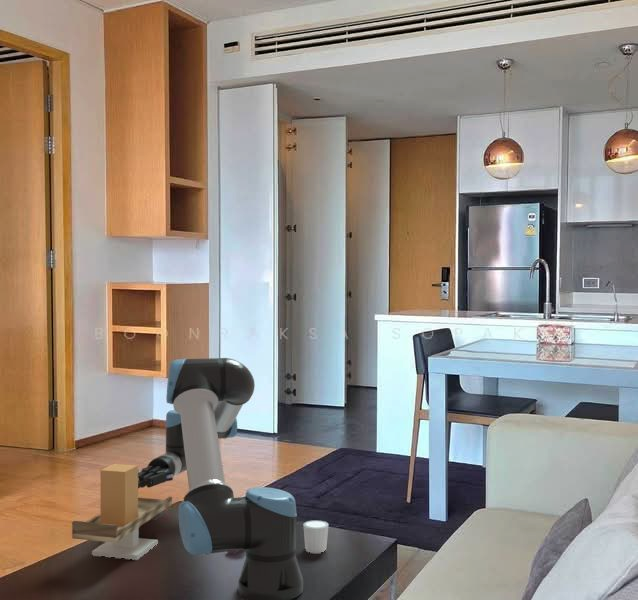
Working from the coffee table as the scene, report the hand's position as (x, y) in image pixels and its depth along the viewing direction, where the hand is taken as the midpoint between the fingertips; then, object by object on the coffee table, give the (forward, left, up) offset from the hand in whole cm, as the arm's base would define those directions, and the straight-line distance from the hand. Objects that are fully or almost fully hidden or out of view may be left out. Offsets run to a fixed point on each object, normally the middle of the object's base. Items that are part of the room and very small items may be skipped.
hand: (125, 489), depth 194 cm
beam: (0, 0, -11) cm, 11 cm away
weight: (-4, 0, -7) cm, 8 cm away
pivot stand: (0, 0, -16) cm, 16 cm away
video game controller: (+9, -30, -17) cm, 36 cm away
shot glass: (+13, -50, -17) cm, 54 cm away
